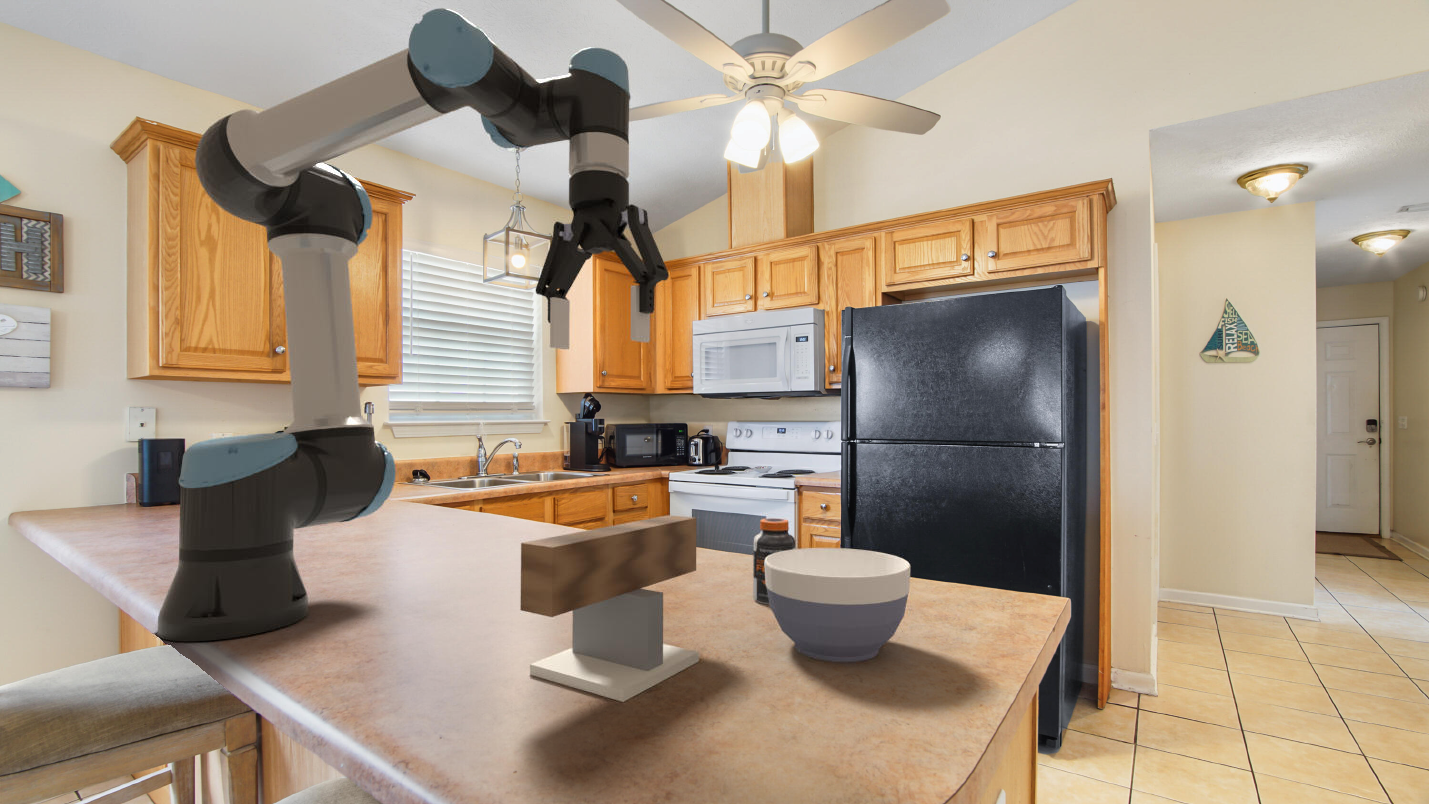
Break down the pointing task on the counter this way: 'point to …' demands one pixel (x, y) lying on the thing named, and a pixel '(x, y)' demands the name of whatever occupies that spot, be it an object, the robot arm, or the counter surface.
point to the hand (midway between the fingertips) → (598, 345)
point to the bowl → (837, 600)
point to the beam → (604, 563)
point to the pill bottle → (768, 552)
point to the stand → (617, 648)
